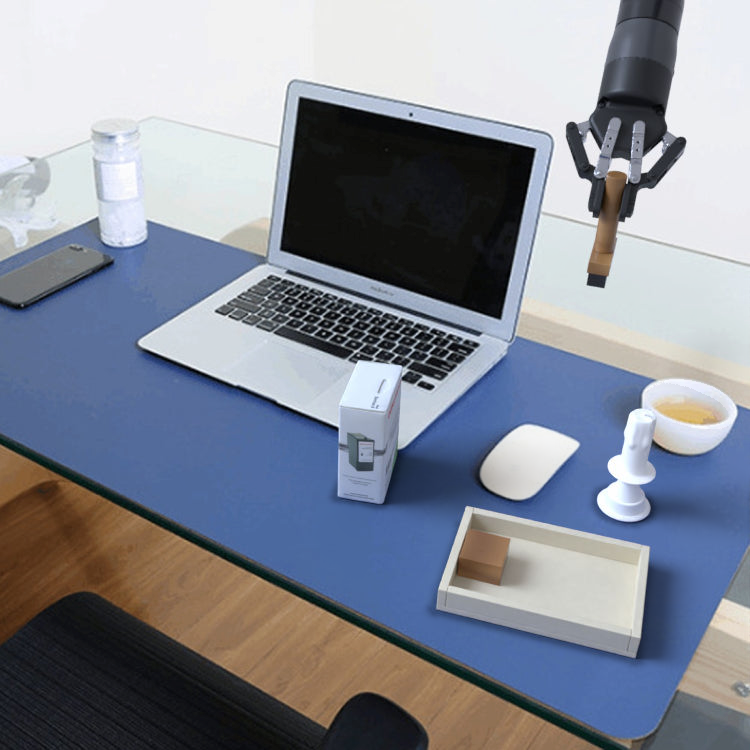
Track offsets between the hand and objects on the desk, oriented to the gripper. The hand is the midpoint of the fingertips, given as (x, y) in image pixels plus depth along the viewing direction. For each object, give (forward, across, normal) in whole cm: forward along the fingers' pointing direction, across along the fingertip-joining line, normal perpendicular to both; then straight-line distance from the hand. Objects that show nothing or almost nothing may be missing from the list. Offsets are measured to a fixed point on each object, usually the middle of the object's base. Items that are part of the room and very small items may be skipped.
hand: (609, 216), depth 108 cm
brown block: (+39, -5, -10) cm, 41 cm away
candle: (+30, +7, 0) cm, 31 cm away
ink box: (+33, -19, -2) cm, 38 cm away
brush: (+4, 0, +7) cm, 8 cm away
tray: (+40, +1, -10) cm, 41 cm away
